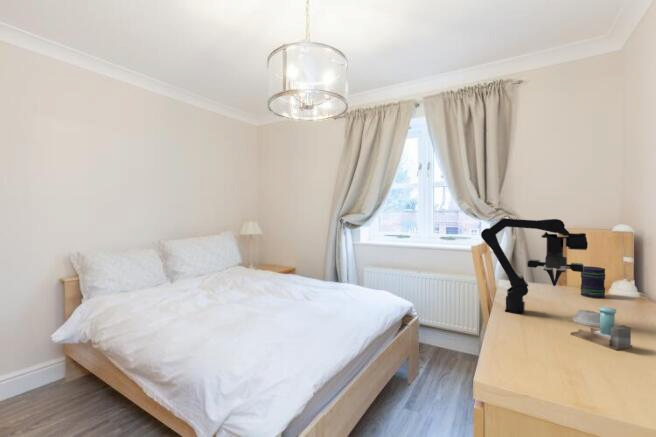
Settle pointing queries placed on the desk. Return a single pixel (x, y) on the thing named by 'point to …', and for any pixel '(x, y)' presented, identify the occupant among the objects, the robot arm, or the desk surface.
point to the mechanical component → (587, 318)
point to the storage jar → (593, 282)
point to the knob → (606, 321)
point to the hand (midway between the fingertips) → (554, 285)
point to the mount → (617, 341)
